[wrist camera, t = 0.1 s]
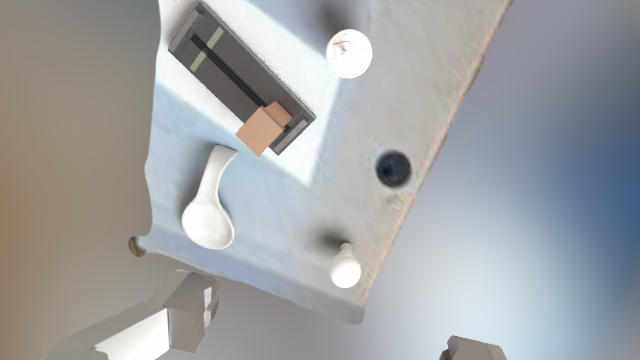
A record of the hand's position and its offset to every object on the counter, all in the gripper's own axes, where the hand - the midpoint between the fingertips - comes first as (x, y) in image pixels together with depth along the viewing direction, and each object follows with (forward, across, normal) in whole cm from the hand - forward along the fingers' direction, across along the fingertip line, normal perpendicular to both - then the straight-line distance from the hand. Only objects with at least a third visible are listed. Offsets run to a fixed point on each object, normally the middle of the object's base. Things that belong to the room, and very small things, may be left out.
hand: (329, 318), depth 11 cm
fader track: (+48, +20, +2) cm, 52 cm away
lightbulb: (+48, -4, +31) cm, 57 cm away
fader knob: (+46, +14, +6) cm, 48 cm away
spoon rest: (+48, +25, +26) cm, 60 cm away
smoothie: (+48, +3, -7) cm, 49 cm away
